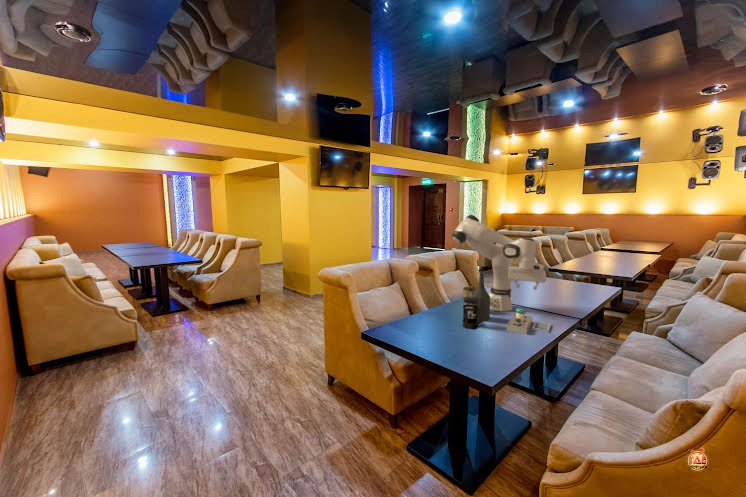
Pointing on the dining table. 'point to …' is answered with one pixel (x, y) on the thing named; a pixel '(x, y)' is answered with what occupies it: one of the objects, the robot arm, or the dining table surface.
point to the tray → (541, 324)
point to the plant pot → (469, 293)
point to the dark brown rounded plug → (517, 321)
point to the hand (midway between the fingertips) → (526, 288)
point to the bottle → (482, 300)
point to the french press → (470, 319)
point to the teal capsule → (520, 314)
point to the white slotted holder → (523, 326)
